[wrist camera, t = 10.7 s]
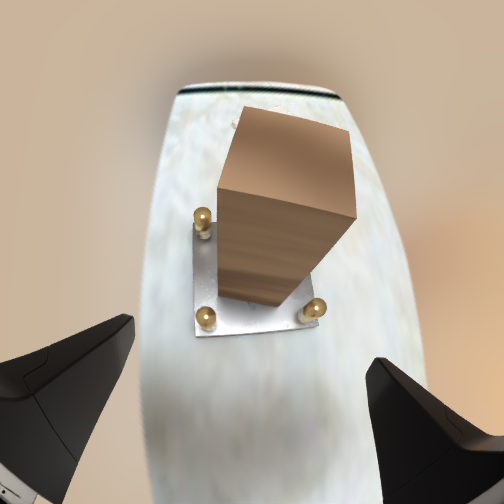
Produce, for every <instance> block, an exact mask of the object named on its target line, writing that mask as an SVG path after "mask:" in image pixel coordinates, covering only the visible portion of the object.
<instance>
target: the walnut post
mask: <svg viewBox="0 0 504 504" xmlns="http://www.w3.org/2000/svg"><path fill="white" fill-rule="evenodd" d="M356 219H357V215H356V197H355V184H354V172H353V162H352V153H351V144H350V137H349V131H346V130H343V129H339V128H336V127H333V126H329V125H326V124H322V123H319V122H315V121H311V120H307V119H303V118H299V117H295V116H291V115H287V114H282V113H277V112H273V111H268V110H263V109H257V108H252V107H246V106H244V108H243V111H242V114H241V116H240V119H239V122H238V125H237V128H236V131H235V134H234V137H233V140H232V143H231V146H230V149H229V152H228V155H227V158H226V161H225V164H224V167H223V170H222V174H221V177H220V180H219V183H218V186H217V282H218V296H221V297H226V298H231V299H236V300H241V301H246V302H251V303H257V304H262V305H268V306H273V307H279V306H280V305H281V304H282V303H283V302H284V301H285V300H286V299H287V298H288V297H289V296H290V294H291V293H292V292H293V291H294V290H295V289H296V288H297V287H298V286H299V285H300V284H301V282H302V281H303V280H304V279H305V278H306V277H307V276H308V275H309V274H310V272H311V271H312V270H313V269H314V268H315V267H316V266H317V265H318V263H319V262H320V261H321V260H322V259H323V258H324V257H325V255H326V254H327V253H328V252H329V251H330V250H331V248H332V247H333V246H334V245H335V244H336V243H337V241H338V240H339V239H340V238H341V237H342V235H343V234H344V233H345V232H346V231H347V229H348V228H349V227H350V226H351V225H352V223H353V222H354V221H355V220H356Z"/></svg>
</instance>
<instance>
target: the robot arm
mask: <svg viewBox="0 0 504 504" xmlns="http://www.w3.org/2000/svg"><path fill="white" fill-rule="evenodd" d="M134 339H135V323H134V317H133V316H131V315H127V314H121V315H118V316H116V317H114V318H111V319H109V320H107V321H104V322H102V323H100V324H98V325H95V326H93V327H91V328H88V329H86V330H84V331H81V332H79V333H77V334H75V335H72V336H70V337H68V338H65V339H63V340H61V341H58V342H56V343H54V344H51V345H50V346H47V347H44V348H42V349H40V350H38V351H35V352H32V353H30V354H27V355H24V356H21V357H18V358H15V359H12V360H8V361H5V362H2V363H0V504H33V503H34V501H35V499H36V497H37V494H38V495H40V496H41V497H43V498H45V499H46V500H48V501H49V502H51V503H53V504H62V502H63V500H64V497H65V494H66V492H67V489H68V487H69V484H70V482H71V479H72V477H73V475H74V472H75V470H76V467H77V465H78V462H79V460H80V458H81V455H82V453H83V451H84V449H85V447H86V444H87V442H88V440H89V438H90V436H91V433H92V431H93V429H94V427H95V425H96V423H97V421H98V418H99V416H100V414H101V412H102V410H103V408H104V406H105V404H106V402H107V400H108V398H109V396H110V394H111V392H112V390H113V389H114V387H115V385H116V382H117V381H118V379H119V377H120V375H121V373H122V370H123V368H124V365H125V362H126V360H127V357H128V354H129V352H130V349H131V347H132V344H133V342H134ZM366 387H367V397H368V407H369V413H370V419H371V424H372V429H373V435H374V440H375V446H376V452H377V458H378V465H379V472H380V479H381V487H382V496H383V504H504V436H493V435H489V434H486V433H485V432H483V431H482V430H480V429H479V428H477V427H476V426H474V425H473V424H471V423H470V422H468V421H467V420H465V419H464V418H462V417H461V416H459V415H458V414H457V413H455V412H454V411H453V410H451V409H450V408H449V407H447V406H446V405H444V403H442V402H441V401H440V400H438V399H437V398H436V397H435V396H433V395H432V394H431V393H430V392H428V391H427V390H426V389H425V388H423V387H422V386H421V385H419V384H418V383H417V382H416V381H414V380H413V379H412V378H410V377H409V376H408V375H407V374H405V373H404V372H403V371H402V370H400V369H399V368H398V367H396V366H395V365H394V364H393V363H391V362H390V361H389V360H388V359H386V358H382V357H377V358H375V359H374V360H373V362H372V364H371V366H370V367H369V369H368V371H367V373H366Z"/></svg>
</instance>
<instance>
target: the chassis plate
mask: <svg viewBox="0 0 504 504" xmlns="http://www.w3.org/2000/svg"><path fill="white" fill-rule="evenodd" d="M194 222H195V223H193V286H194V313H195V333H196V337H216V336H233V335H247V334H259V333H270V332H280V331H289V330H298V329H306V328H314V327H317V326H319V325H318V318H319V317H321V316H322V315H324V314H325V312H326V310H327V306H326V303H325V301H324V300H322V299H320V298H314V292H313V286H312V281H311V275H310V274H309V275H308V276H307V277H306V278H305V279H304V280H303V281H302V282H301V284H300V285H299V286H298V287H297V288H296V289H295V290H294V291H293V292H292V293H291V294H290V296H289V297H288V298H287V299H286V300H285V301H284V302H283V303H282V304H281V305H280V306H279V307H273V306H268V305H262V304H257V303H251V302H246V301H241V300H236V299H231V298H226V297H221V296H218V282H217V222H211V211H210V210H209V209H208V208H206V207H200V208H198V209H196V210H195V212H194Z"/></svg>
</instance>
